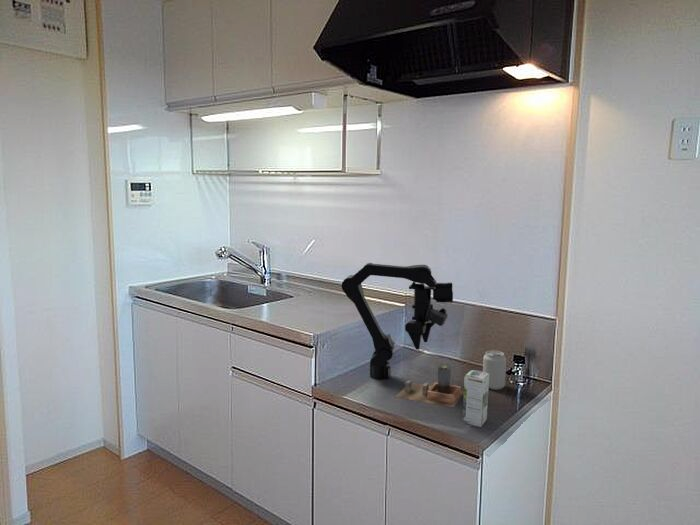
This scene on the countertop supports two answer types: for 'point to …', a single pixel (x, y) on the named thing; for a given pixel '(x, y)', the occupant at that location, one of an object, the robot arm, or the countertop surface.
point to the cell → (444, 379)
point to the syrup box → (475, 397)
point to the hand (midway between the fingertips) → (421, 345)
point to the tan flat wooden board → (430, 394)
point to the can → (495, 369)
